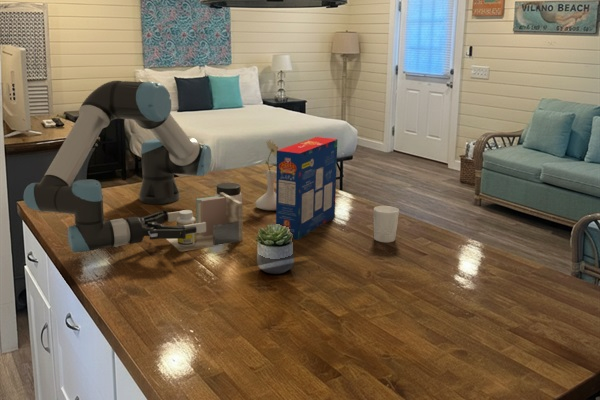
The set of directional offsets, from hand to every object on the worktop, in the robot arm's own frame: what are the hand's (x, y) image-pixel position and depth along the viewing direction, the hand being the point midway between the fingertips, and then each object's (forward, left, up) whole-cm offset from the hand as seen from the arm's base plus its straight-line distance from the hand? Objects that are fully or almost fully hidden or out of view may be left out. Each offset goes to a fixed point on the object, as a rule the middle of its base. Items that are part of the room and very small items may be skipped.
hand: (196, 220), depth 184 cm
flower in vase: (-25, +39, -8) cm, 47 cm away
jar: (-20, +20, -8) cm, 29 cm away
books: (-7, +7, -7) cm, 12 cm away
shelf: (-2, +3, -8) cm, 9 cm away
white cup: (+22, +55, -8) cm, 60 cm away
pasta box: (-1, +40, -8) cm, 41 cm away
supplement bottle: (0, -3, -7) cm, 8 cm away
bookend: (+4, +7, -7) cm, 11 cm away
